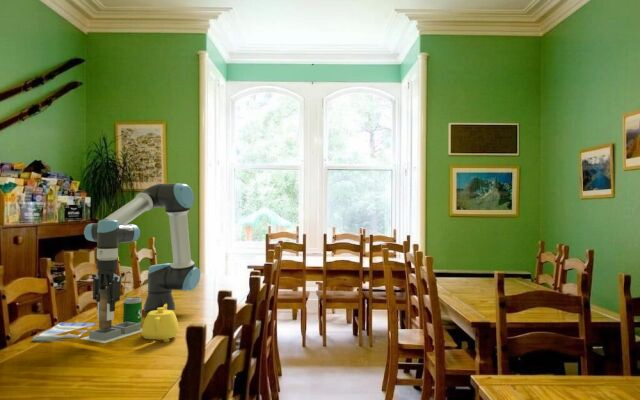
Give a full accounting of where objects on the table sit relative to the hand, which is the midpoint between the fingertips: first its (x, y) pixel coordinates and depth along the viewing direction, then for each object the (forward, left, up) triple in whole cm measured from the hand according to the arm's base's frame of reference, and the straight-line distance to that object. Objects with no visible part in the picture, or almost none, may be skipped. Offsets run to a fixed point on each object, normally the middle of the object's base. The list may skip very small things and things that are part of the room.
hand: (105, 318), depth 177 cm
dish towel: (0, -21, -9) cm, 23 cm away
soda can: (-21, -8, -8) cm, 24 cm away
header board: (-5, 0, -8) cm, 10 cm away
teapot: (-11, +18, -8) cm, 23 cm away
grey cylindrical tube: (0, 0, -3) cm, 3 cm away
